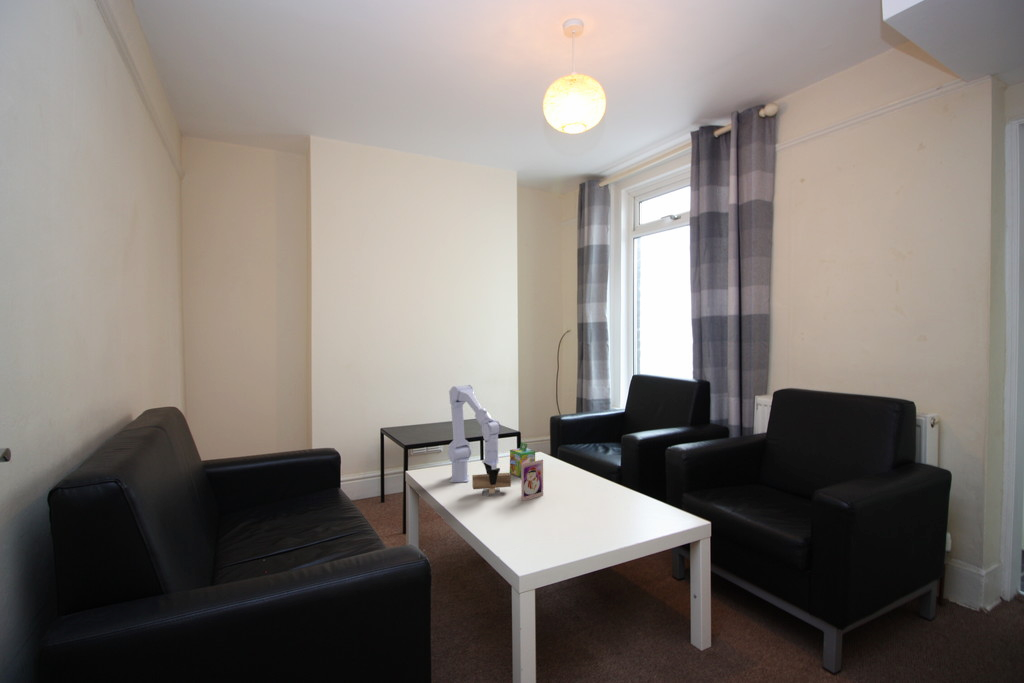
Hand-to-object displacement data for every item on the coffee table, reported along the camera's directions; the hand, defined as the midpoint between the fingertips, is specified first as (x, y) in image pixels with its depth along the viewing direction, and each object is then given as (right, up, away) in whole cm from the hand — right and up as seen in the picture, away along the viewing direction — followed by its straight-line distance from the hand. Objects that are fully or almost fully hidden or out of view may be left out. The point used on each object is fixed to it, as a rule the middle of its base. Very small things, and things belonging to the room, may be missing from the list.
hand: (491, 481), depth 199 cm
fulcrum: (0, -5, 0) cm, 5 cm away
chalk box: (+14, -4, +26) cm, 30 cm away
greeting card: (+15, -5, -5) cm, 17 cm away
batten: (0, -2, 0) cm, 2 cm away
